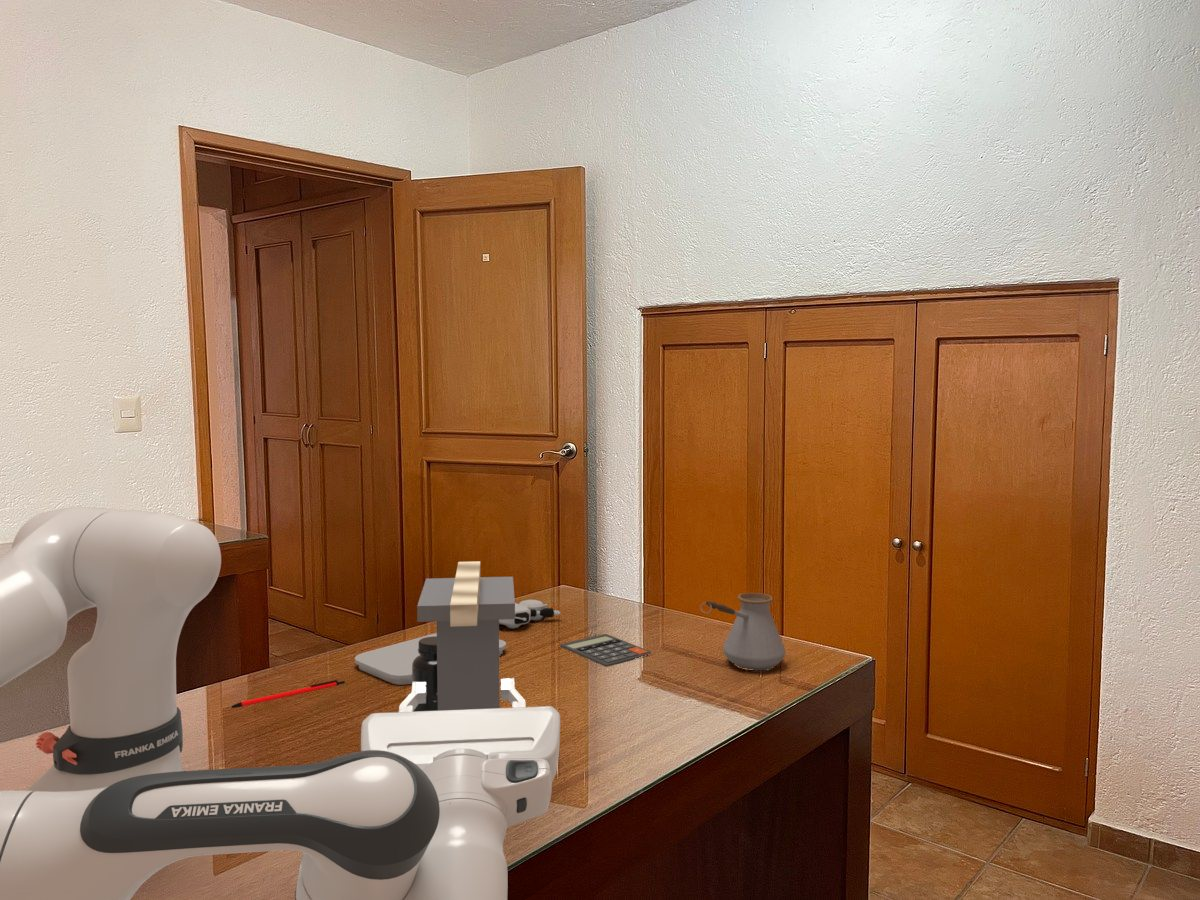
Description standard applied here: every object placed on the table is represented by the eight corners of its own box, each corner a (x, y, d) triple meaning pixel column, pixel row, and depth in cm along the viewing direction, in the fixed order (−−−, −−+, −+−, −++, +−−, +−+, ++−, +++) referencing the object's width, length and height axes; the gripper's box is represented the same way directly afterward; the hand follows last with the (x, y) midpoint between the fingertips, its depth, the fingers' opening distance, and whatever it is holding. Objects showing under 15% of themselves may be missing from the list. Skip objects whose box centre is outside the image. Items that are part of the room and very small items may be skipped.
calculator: (606, 664, 165) (559, 643, 176) (606, 668, 165) (559, 648, 176) (654, 651, 172) (605, 632, 183) (653, 656, 172) (605, 637, 184)
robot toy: (528, 614, 202) (473, 622, 192) (529, 594, 202) (474, 601, 192) (563, 626, 193) (508, 635, 183) (564, 605, 193) (509, 613, 183)
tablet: (513, 655, 172) (513, 643, 172) (399, 691, 153) (399, 678, 153) (460, 637, 183) (460, 626, 183) (348, 668, 164) (347, 656, 164)
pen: (345, 685, 156) (345, 678, 156) (231, 710, 144) (230, 704, 144) (343, 683, 156) (343, 677, 156) (229, 708, 145) (229, 702, 145)
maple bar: (476, 625, 102) (476, 604, 102) (450, 626, 102) (450, 605, 101) (480, 579, 124) (480, 561, 123) (458, 579, 123) (458, 561, 123)
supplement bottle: (446, 723, 138) (445, 648, 137) (405, 720, 140) (404, 645, 139) (462, 707, 145) (461, 635, 144) (422, 703, 147) (421, 632, 145)
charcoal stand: (515, 802, 114) (514, 603, 111) (420, 807, 113) (417, 606, 110) (513, 754, 128) (512, 576, 125) (428, 758, 126) (426, 578, 124)
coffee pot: (745, 650, 174) (747, 575, 173) (797, 664, 166) (799, 585, 165) (677, 678, 159) (678, 595, 157) (730, 695, 151) (732, 608, 149)
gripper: (352, 822, 86) (368, 705, 97) (563, 811, 89) (555, 698, 100) (345, 783, 83) (363, 667, 94) (566, 772, 85) (557, 660, 96)
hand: (464, 683), depth 97 cm, fingers open, 8 cm apart
